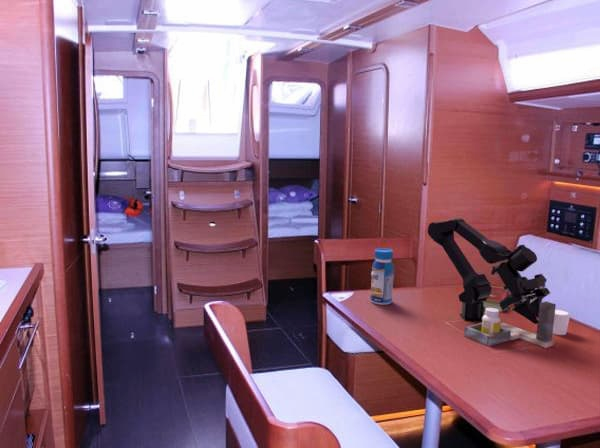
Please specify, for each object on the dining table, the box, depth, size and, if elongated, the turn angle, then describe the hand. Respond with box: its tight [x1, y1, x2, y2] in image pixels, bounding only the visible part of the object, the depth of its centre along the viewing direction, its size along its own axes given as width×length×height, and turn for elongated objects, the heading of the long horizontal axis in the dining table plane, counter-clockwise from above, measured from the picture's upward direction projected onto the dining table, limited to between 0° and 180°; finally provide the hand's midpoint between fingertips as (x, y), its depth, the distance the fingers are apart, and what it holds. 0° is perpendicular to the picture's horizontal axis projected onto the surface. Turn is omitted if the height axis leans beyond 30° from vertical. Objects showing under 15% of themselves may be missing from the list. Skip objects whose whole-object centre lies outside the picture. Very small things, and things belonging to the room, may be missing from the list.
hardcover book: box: [483, 285, 510, 313], centre depth 209 cm, size 12×21×4 cm, turn 154°
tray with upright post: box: [463, 301, 557, 349], centre depth 169 cm, size 19×18×13 cm
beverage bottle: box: [370, 247, 395, 306], centre depth 204 cm, size 8×8×20 cm
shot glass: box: [552, 308, 571, 336], centre depth 178 cm, size 7×7×7 cm
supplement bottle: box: [481, 308, 502, 335], centre depth 170 cm, size 5×5×10 cm
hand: (540, 322), depth 168 cm, fingers closed on tray with upright post, 3 cm apart
